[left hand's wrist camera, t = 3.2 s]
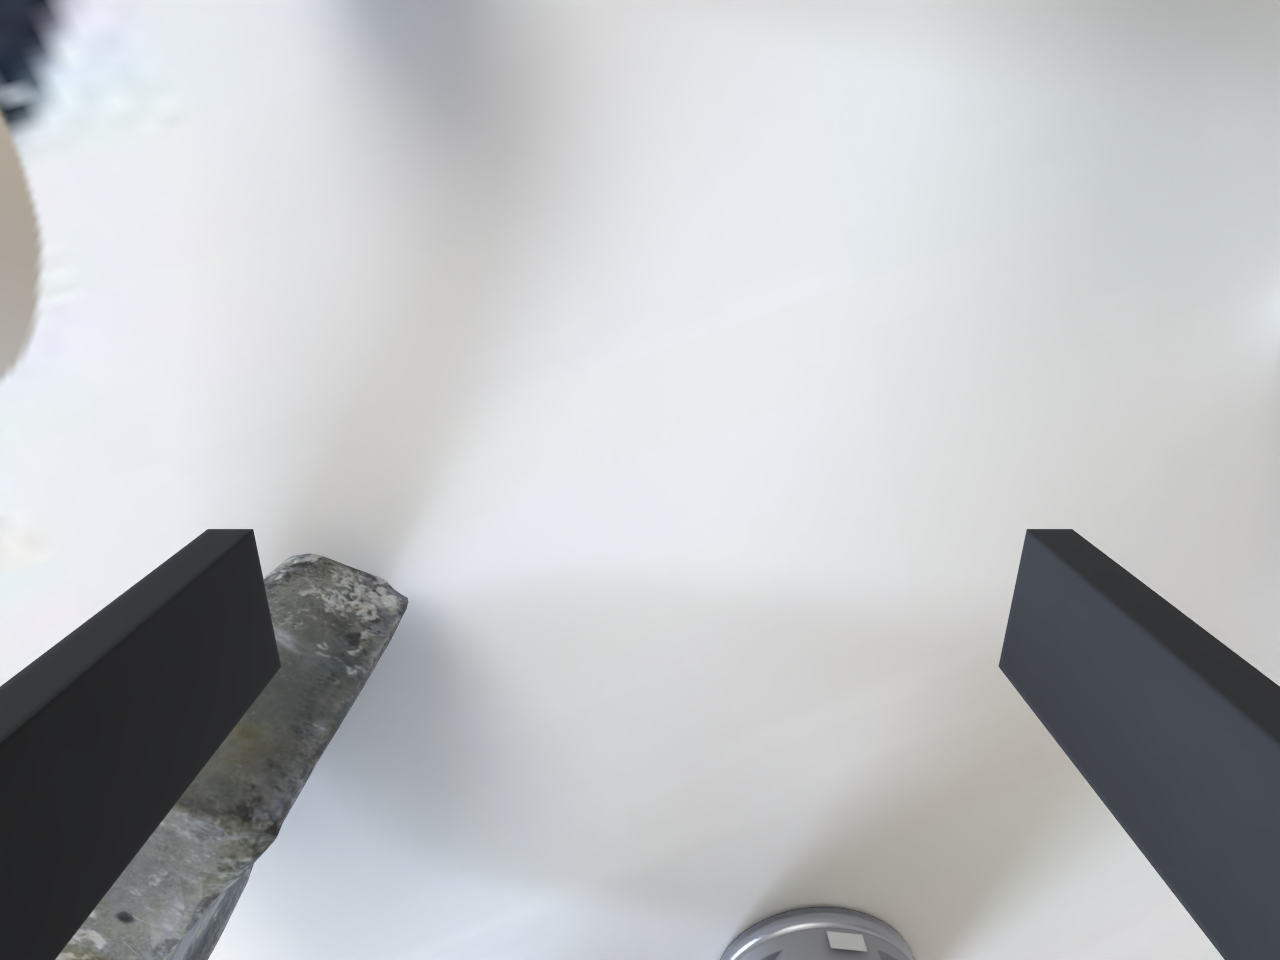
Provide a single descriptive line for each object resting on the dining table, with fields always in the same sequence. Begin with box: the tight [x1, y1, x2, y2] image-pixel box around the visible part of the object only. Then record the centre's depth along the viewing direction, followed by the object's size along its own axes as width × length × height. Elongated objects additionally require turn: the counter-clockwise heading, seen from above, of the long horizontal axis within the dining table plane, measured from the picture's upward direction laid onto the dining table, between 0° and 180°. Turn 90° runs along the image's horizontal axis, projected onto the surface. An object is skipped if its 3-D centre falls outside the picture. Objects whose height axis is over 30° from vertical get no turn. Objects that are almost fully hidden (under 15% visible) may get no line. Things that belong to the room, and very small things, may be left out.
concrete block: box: [55, 554, 408, 960], centre depth 38 cm, size 27×9×20 cm, turn 147°
